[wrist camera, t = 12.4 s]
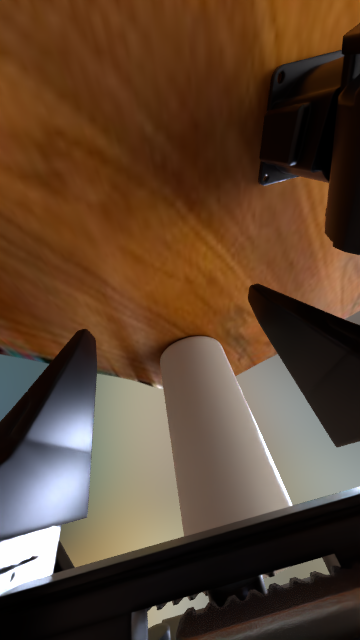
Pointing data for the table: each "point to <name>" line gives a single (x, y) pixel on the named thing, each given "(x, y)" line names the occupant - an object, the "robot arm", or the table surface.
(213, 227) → the table surface
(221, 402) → the cylinder vase
